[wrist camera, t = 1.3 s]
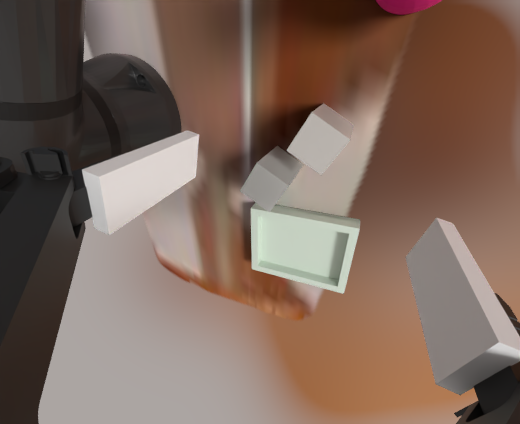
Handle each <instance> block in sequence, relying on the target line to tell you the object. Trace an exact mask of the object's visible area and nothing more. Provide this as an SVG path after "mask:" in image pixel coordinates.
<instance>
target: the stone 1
mask: <svg viewBox="0 0 520 424" xmlns="http://www.w3.org/2000/svg"><path fill="white" fill-rule="evenodd" d="M303 165H304V164H302V163H301V162H299V161H298V160H297V159H295V158H294V157H293V156H291V155H290V154H288V153H287V152H286V151H284V150H283V149H281V148H280V147H279V146H276V147H275V148H274V149H273V150H271V151H270V152H269V153H268V154H267V155H265V156H264V157H263V158H262V159H261V160H259V161H258V162H257V163H256V165H255V166H254V168H253V170H252V172H251V173H250V175H249V177H248V178H247V180H246V182H245V183H244V185H243V187H242V188H241V190H240V191H241V192H242V193H243V194H245V195H246V196H247V197H249V198H250V199H252V200H253V201H254V202H256V203H257V204H258V205H260V206H261V207H263V208H264V209H265V210H267V211H268V212H270V211H271V210H272V208H273V207H274V206H275V204H276V203H277V202H278V200H279V199H280V198H281V196H282V195H283V194H284V192H285V191H286V190H287V188H288V187H289V185H290V184H291V182H292V181H293V180H294V178H295V177H296V175H297V174H298V172H299V171H300V169H301V168H302V166H303Z"/></svg>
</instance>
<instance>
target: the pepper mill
mask: <svg viewBox="0 0 520 424" xmlns="http://www.w3.org/2000/svg"><path fill="white" fill-rule="evenodd" d="M440 1H442V0H376V2H377V3H378V4H379V6H380V7H381V8H382V9H384V10H385V11H387V12H390V13H393V14H398V15H405V14H410V13H414V12H418V11H421V10H424V9H427V8H429V7H431V6H433V5H435V4H437V3H438V2H440Z"/></svg>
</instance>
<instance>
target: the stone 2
mask: <svg viewBox="0 0 520 424" xmlns="http://www.w3.org/2000/svg"><path fill="white" fill-rule="evenodd" d="M353 128H354V124H352V123H351V122H349V121H348V120H347V119H345V118H344V117H342V116H341V115H340V114H338V113H337V112H335V111H334V110H333V109H331V108H330V107H328V106H327V105H326V104H324V103H323V104H322V105H321V106H319V107H318V108H317V109H315V110H314V111H313V112H311V114H310V116H309V117H308V119H307V120H306V122H305V123H304V125H303V126H302V128H301V129H300V131H299V132H298V134H297V135H296V137H295V138H294V140H293V141H292V143H291V144H290V146H289V147H288V149H287V150H286V151H288V152H289V153H291V154H292V155H293V156H295V157H296V158H297V159H299V160H300V161H302V162H303V163H304V164H306V165H307V166H309V167H310V168H311V169H313V170H314V171H316V172H317V173H318V174H320V175H322V174H323V173H324V172H325V170H326V169H327V168H328V167H329V165H330V164H331V163H332V162H333V161H334V159H335V158H336V157H337V156H338V155H339V153H340V152H341V151H342V150H343V148H344V147H345V146H346V145H347V144H348V142H349V141H350V140H351V136H352V132H353Z"/></svg>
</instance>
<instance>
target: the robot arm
mask: <svg viewBox="0 0 520 424" xmlns="http://www.w3.org/2000/svg"><path fill="white" fill-rule="evenodd" d="M84 24H85V0H0V424H39V423H38V408H39V403H40V399H41V395H42V391H43V387H44V384H45V380H46V376H47V372H48V368H49V364H50V361H51V357H52V353H53V350H54V346H55V342H56V338H57V334H58V330H59V327H60V323H61V319H62V315H63V312H64V308H65V304H66V300H67V297H68V293H69V289H70V285H71V281H72V278H73V274H74V270H75V266H76V262H77V259H78V255H79V251H80V247H81V243H82V240H83V236H84V232H85V223H84V221H86V220H88V219H89V218H91V217H92V220H93V225H94V228H95V229H97V230H99V231H101V232H103V233H106V234H108V235H110V234H112V233H113V232H115V231H116V230H118V229H119V228H121V227H122V226H124V225H125V224H127V223H128V222H129V221H131V220H132V219H134V218H136V217H137V216H138V215H140V214H141V213H143V212H144V211H146V210H147V209H149V208H150V207H152V206H153V205H155V204H156V203H158V202H159V201H161V200H162V199H164V198H165V197H167V196H168V195H170V194H171V193H173V192H174V191H176V190H177V189H179V188H180V187H182V186H183V185H185V184H186V183H187V182H189V181H190V180H192V179H193V178H195V177H196V168H197V155H198V142H199V134H196V133H193V132H191V131H188V130H187V131H184V132H182V133H181V122H180V115H179V111H178V108H177V105H176V102H175V99H174V97H173V95H172V93H171V91H170V89H169V87H168V86H167V84H166V83H165V81H164V80H163V78H162V77H161V76H160V75H159V74H158V72H157V71H156V70H155V69H154V68H152V67H151V66H150V65H149V64H148V63H146V62H145V61H143V60H141V59H139V58H137V57H135V56H132V55H127V54H111V53H110V54H103V55H99V56H97V57H95V58H92V59H90V60H88V61H85V62H83V54H84ZM406 261H407V265H408V270H409V274H410V278H411V282H412V286H413V291H414V295H415V299H416V303H417V307H418V312H419V315H420V320H421V324H422V328H423V333H424V337H425V341H426V345H427V349H428V353H429V358H430V362H431V366H432V370H433V375H434V379H435V383H436V384H437V385H439V386H441V387H443V388H445V389H448V390H450V391H452V392H454V393H456V394H459V395H461V394H463V393H465V392H467V391H468V390H470V389H472V388H474V389H475V392H476V395H477V397H478V400H479V401H477V402H475V403H473V404H471V405H469V406H467V407H465V408H463V409H462V410H459V411H458V412H456V413H454V414H455V415H456V416H457V417H459V416H461V415H462V416H461V418H460V419H459V421H458V422H457V423H456V424H520V323H519V322H517V318H516V316H515V315H514V313H513V312H512V310H511V309H510V307H509V306H508V305H507V304H506V303H505V302H504V301H503V300H502V298H501V297H500V296H499V295H497V294H496V293H494V292H493V291H492V289H491V287H490V286H489V284H488V282H487V280H486V279H485V277H484V275H483V274H482V272H481V270H480V268H479V267H478V265H477V264H476V262H475V260H474V258H473V257H472V255H471V253H470V252H469V250H468V248H467V246H466V245H465V243H464V241H463V240H462V238H461V236H460V235H459V233H458V231H457V230H456V228H455V226H454V224H453V223H450V222H447V221H444V220H442V219H439V218H436V219H435V220H434V222H433V223H432V224H431V225H430V227H429V228H428V229H427V231H426V232H425V233H424V235H423V236H422V237H421V238H420V239H419V241H418V242H417V243H416V245H415V246H414V247H413V248H412V250H411V251H410V252H409V253H408V255H407V256H406Z"/></svg>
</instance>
